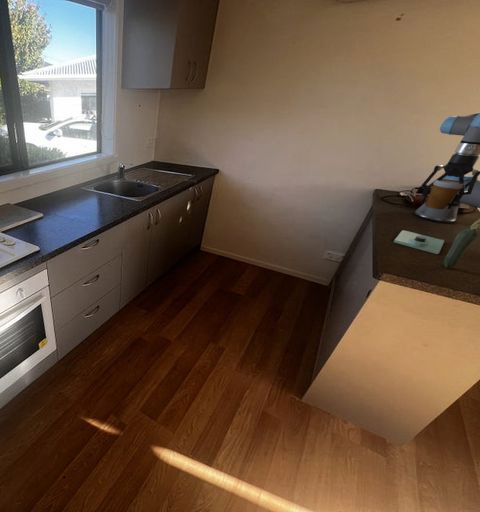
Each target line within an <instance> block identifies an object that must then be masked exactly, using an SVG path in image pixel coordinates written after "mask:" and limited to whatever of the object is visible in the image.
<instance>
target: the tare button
mask: <svg viewBox="0 0 480 512" xmlns="http://www.w3.org/2000/svg"><path fill="white" fill-rule="evenodd" d="M415 240H416V241H419V242H425V240H426V238H425V237H422V236H417V237H416V238H415Z"/></svg>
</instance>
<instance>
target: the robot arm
mask: <svg viewBox="0 0 480 512" xmlns="http://www.w3.org/2000/svg"><path fill="white" fill-rule="evenodd" d="M439 131H440V133H441V134H444V135H449V136H450V135H451V136H463V137H462V139H461V140H460V142H459V143H458V145H457V147H456V148H455V150H454V153H453V154H452V155H451V157H450V159H449V160H448V162H447V163H446V164H445V165H439V164H436V165H435V166H434V168H433V171H432V172H431V173H430V174H429V175H428V176H427V178H426V179H425V180H424V182H423V183H422V184H421V185H420V187H421V188H424V190H423V192H422V193H421V196H422V197H423V198H422V199H421V202H420V204H421V205H420V207H418V208H417V209H416V210H414V213H413V214H414V215H415V216H416V217H418V218H421V219H423V220H427V221H431V222H437V223H444V224H453V223H454V222H455V221H456V220H457V216H458V211H459V207H460V205H466V206H470V207H474V208H476V209H480V180H479V178H478V177H479V176H480V170H477V169H474V166H475V165H476V163H477V161H478V160H479V159H480V111H477V112H474V113H471V114H468V115H462V116H461V115H452V116H448V117H447V118H446V119H445V120H443V122H442V123H441V125H440V128H439ZM441 170H444V173H443V174H441V175H440V176H439V177H438V178H436V179H437V180H439V181H440V180H442V179H449V180H455V181H459V184H463V187H462V188H461V189H460V190H459V192H458V193H457V194H456V195H455V196H454V198H453V199H452V200H451V201H450V202H449V204H448V205H447V206H446V207H445V208H444V209H433V208H429V207H426V206H425V203H426V200H427V199H428V196H429V194H430V191H431V189H432V186H433V182H435V181H436V179H435V180H433V181H432V182H431V183H429V182H430V181H431V179H433V177H434V176H435V175H436V174H437V173H438V172H439V171H441ZM469 173H471V175H470V174H469ZM428 183H429V184H428Z"/></svg>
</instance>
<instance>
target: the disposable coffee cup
mask: <svg viewBox="0 0 480 512" xmlns="http://www.w3.org/2000/svg"><path fill="white" fill-rule="evenodd" d="M437 179H438V178H436V179H435V180H436V181H435V180H434V181H435V182H434V181H432V182H433V186H432V187H431V188H430V189H431V191H430V193H429V194H428V196H427V198H426V200H425V202H426V203H425V202H424V203H425V206H426V207H429V208H433V209H444V208H445V207H446V206H447V205H448V204H449V202H450V201H451V200H452V199H453V198H454V196H455V195H456V194H457V193H458V192H459V190H460V189H461V188H462V187H463V184H459V181H455V180H449V179H442V180H440V181H439V180H437Z"/></svg>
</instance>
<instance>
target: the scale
mask: <svg viewBox="0 0 480 512" xmlns="http://www.w3.org/2000/svg"><path fill="white" fill-rule="evenodd" d="M417 236H422V237H425V238H426V240H425V242H419V241H416V240H415V238H416V237H417ZM393 243H395V244H399V245H402V246H405V247H409V248H414V249H417V250H421V251H424V252H427V253H432V254H435V255H439V254H440V252H441V249H442V247H443V246H444V244H445V240H444V239H440V238H436V237H432V236H428V235H424V234H421V233H417V232H412V231H408V230H404V229H403V230H401V231H400V232H399V233H398V235H397V236H396V238H395V239H394V240H393Z"/></svg>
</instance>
